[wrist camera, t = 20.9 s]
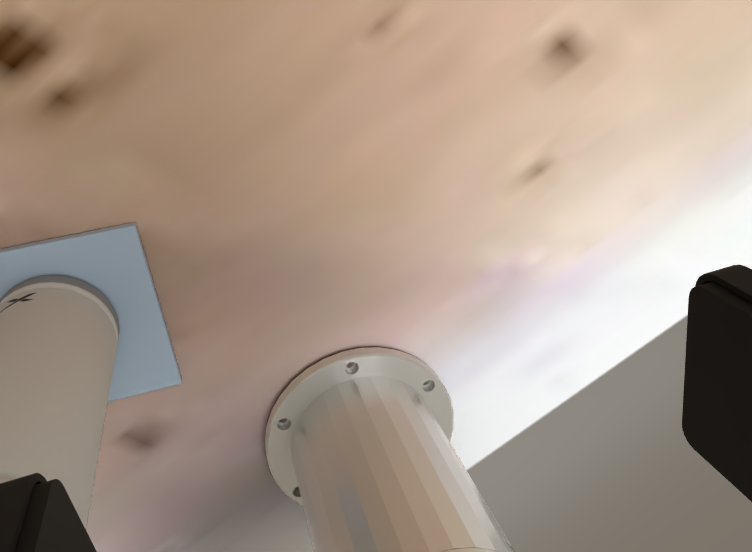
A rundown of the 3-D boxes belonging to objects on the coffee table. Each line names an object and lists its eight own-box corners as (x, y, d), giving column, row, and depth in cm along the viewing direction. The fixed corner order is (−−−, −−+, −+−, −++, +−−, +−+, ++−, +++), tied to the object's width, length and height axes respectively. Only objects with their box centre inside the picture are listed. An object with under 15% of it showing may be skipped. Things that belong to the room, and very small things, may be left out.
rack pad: (181, 378, 40) (181, 383, 39) (4, 422, 38) (1, 428, 37) (135, 221, 35) (134, 225, 35) (-68, 262, 34) (-72, 266, 33)
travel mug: (-6, 260, 34) (-209, 563, 16) (130, 286, 36) (84, 575, 18) (-23, 366, 36) (-223, 742, 18) (107, 384, 38) (44, 732, 20)
